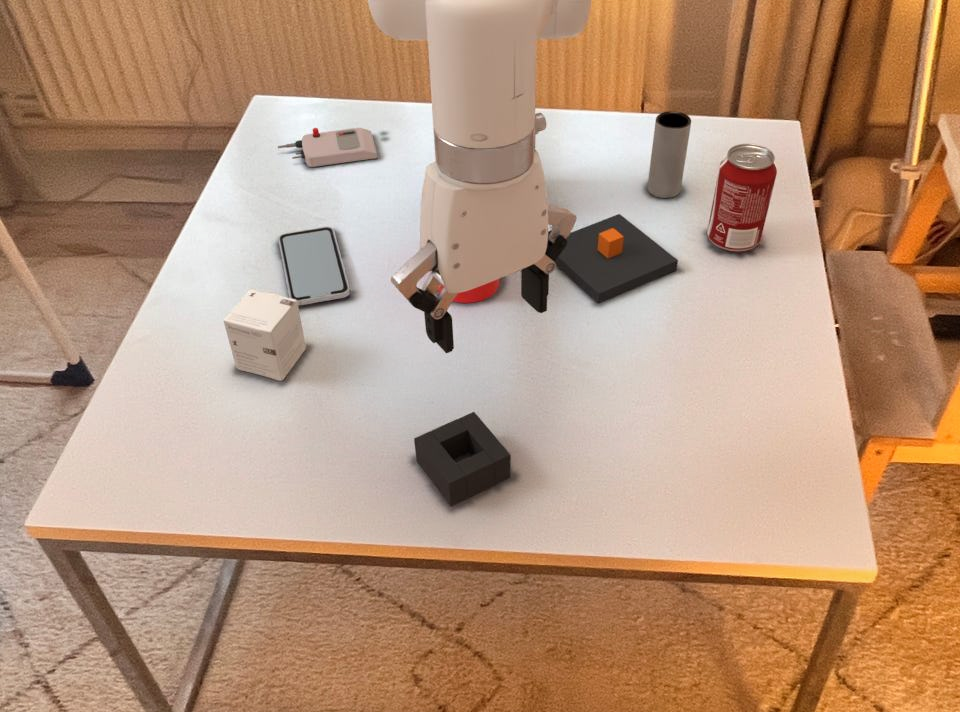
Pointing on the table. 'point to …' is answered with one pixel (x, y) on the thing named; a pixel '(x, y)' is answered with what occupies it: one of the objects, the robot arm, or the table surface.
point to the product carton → (265, 334)
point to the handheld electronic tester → (335, 146)
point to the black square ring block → (471, 473)
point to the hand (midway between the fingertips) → (488, 323)
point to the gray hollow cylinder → (668, 154)
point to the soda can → (742, 197)
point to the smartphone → (313, 266)
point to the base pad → (613, 258)
